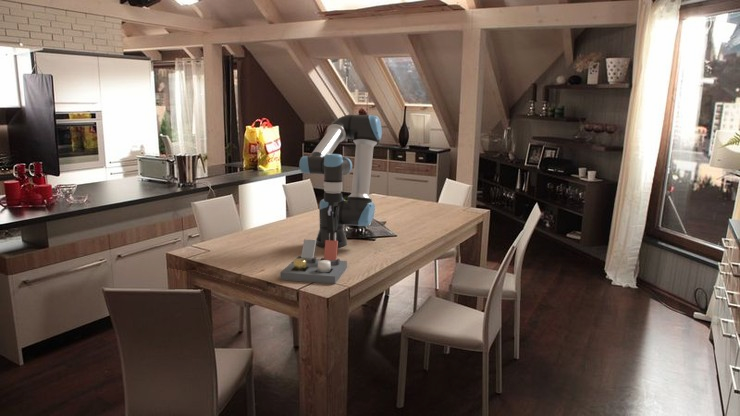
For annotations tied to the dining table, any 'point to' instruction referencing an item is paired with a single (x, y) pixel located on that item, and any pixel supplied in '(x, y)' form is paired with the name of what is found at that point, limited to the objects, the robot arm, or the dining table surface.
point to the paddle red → (331, 251)
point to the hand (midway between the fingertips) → (332, 247)
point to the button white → (324, 266)
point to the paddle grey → (308, 250)
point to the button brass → (299, 264)
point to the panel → (314, 272)
